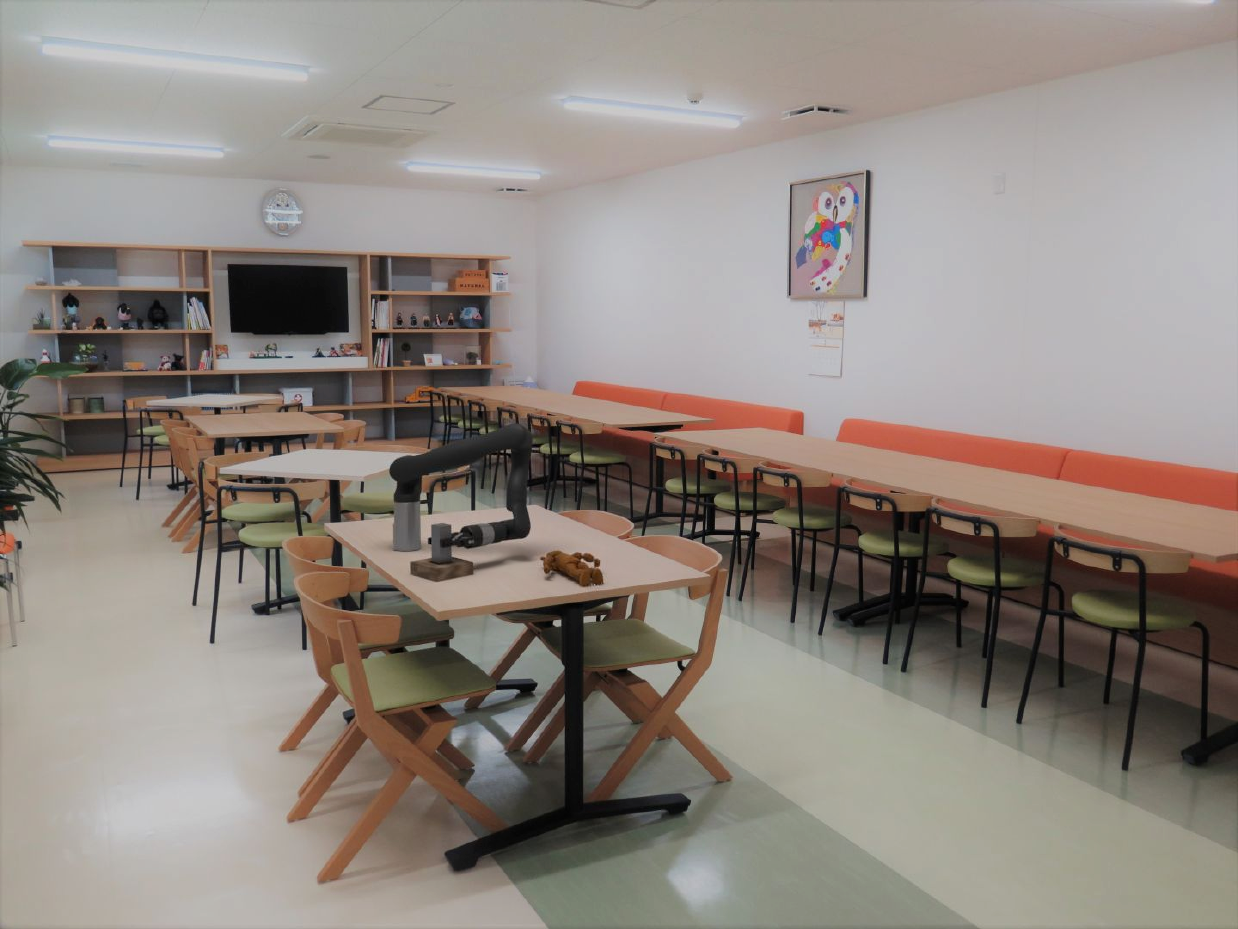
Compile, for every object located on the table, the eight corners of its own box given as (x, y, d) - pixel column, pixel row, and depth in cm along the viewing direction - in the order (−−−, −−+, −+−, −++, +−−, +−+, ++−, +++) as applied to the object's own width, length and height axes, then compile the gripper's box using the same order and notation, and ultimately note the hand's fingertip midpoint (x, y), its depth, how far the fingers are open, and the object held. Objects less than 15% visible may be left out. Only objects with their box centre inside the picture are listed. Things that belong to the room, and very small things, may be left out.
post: (440, 576, 309) (439, 526, 307) (431, 574, 312) (431, 524, 310) (451, 574, 312) (451, 524, 310) (443, 571, 315) (442, 522, 313)
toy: (620, 585, 305) (575, 562, 330) (621, 564, 303) (575, 542, 329) (563, 593, 295) (521, 569, 320) (563, 571, 293) (521, 548, 319)
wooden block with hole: (436, 581, 302) (436, 569, 302) (410, 574, 312) (410, 561, 311) (472, 574, 312) (472, 562, 312) (446, 567, 322) (446, 555, 321)
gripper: (463, 521, 325) (421, 528, 313) (490, 527, 316) (448, 534, 304) (463, 543, 326) (421, 551, 314) (491, 550, 317) (448, 558, 305)
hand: (435, 542), depth 309 cm, fingers open, 6 cm apart
